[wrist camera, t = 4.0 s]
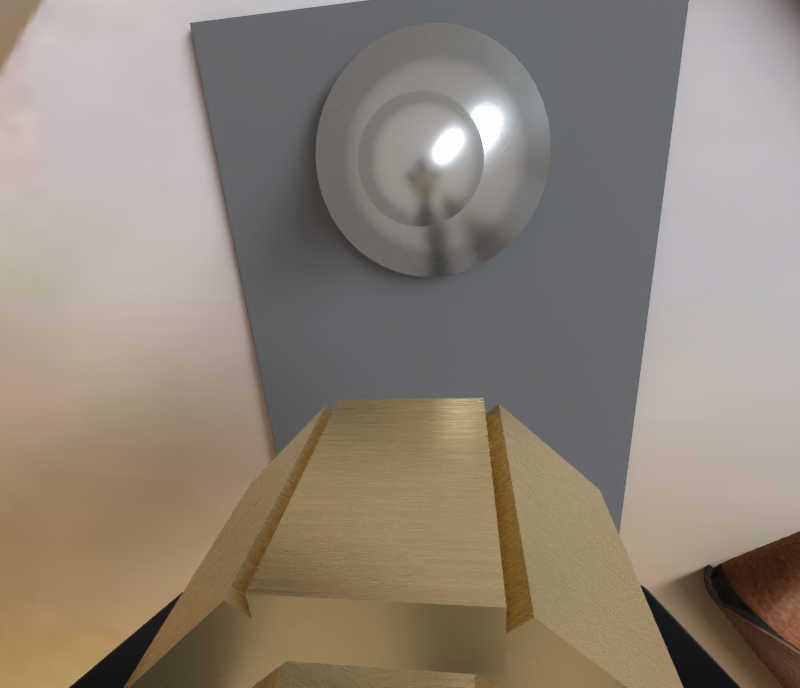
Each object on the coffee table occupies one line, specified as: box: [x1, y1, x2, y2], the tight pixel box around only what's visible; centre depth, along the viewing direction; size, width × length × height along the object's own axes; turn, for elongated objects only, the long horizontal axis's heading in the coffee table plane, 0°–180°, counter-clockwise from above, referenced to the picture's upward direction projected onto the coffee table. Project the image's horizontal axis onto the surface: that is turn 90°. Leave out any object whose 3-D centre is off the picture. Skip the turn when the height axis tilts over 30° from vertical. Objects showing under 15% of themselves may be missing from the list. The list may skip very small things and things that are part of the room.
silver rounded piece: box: [315, 23, 551, 277], centre depth 14 cm, size 8×8×5 cm
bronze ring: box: [124, 398, 683, 688], centre depth 8 cm, size 7×7×4 cm
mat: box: [190, 0, 689, 534], centre depth 19 cm, size 22×16×1 cm
